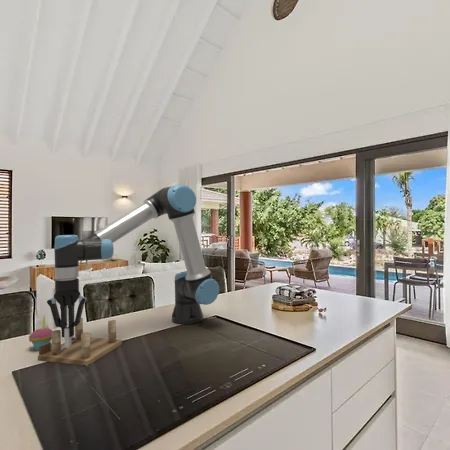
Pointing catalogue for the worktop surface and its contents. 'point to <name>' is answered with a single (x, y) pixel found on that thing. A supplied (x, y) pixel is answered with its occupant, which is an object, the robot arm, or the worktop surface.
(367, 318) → the worktop surface
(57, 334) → the gray bar with post
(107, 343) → the wooden peg board
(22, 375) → the worktop surface
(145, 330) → the worktop surface
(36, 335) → the cupcake
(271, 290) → the worktop surface
